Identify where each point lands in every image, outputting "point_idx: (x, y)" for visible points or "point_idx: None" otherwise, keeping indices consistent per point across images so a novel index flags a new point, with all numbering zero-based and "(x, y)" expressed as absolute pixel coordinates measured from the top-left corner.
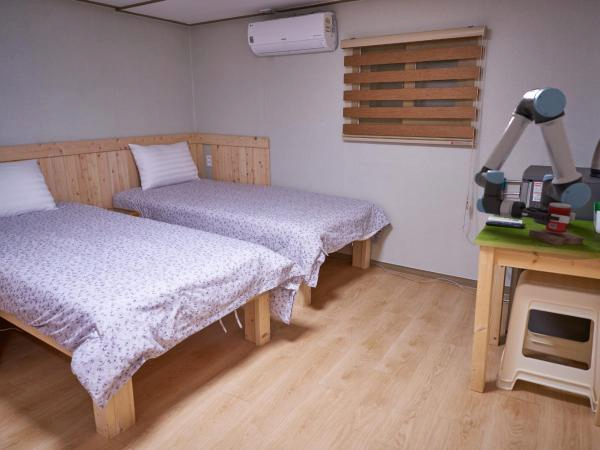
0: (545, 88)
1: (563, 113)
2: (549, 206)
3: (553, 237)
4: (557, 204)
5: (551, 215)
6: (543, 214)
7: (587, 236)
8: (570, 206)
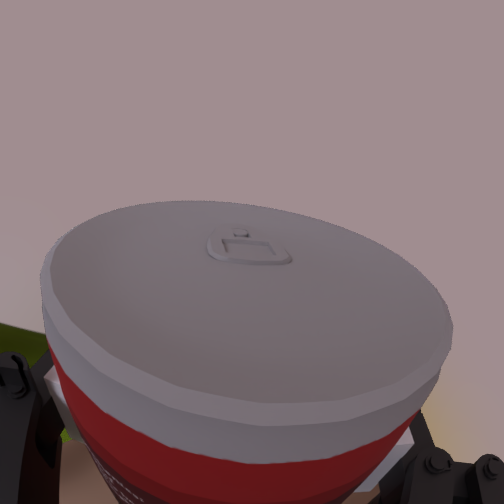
0: None
1: None
2: (378, 449)
3: (352, 494)
4: (143, 285)
5: (403, 451)
6: (502, 495)
7: (40, 352)
8: (281, 212)
